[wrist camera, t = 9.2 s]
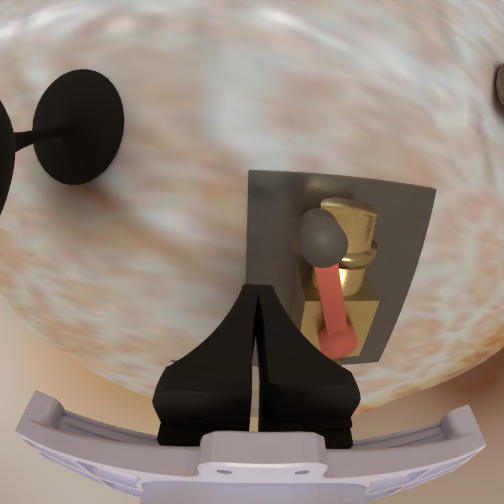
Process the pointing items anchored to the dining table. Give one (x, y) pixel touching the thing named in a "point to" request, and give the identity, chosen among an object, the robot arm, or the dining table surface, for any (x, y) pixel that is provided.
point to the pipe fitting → (500, 84)
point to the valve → (356, 259)
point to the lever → (328, 278)
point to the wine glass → (67, 130)
